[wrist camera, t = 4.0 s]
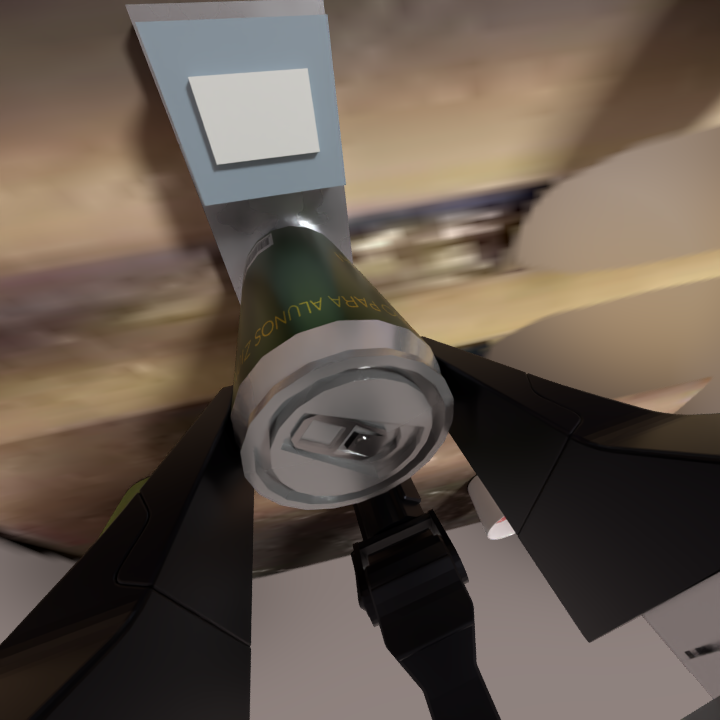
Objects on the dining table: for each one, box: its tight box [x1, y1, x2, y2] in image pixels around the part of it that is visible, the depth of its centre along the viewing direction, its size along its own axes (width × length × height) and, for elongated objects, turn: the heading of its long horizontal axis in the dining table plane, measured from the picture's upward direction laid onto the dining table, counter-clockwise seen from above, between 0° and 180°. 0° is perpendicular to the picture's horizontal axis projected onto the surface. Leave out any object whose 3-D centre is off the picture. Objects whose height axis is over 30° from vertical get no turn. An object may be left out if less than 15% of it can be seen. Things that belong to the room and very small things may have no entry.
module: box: [135, 15, 346, 206], centre depth 12 cm, size 5×6×3 cm
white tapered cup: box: [468, 475, 515, 540], centre depth 40 cm, size 9×9×6 cm
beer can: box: [231, 226, 454, 510], centre depth 11 cm, size 5×5×12 cm
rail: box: [125, 0, 353, 305], centre depth 17 cm, size 20×7×1 cm, turn 6°
